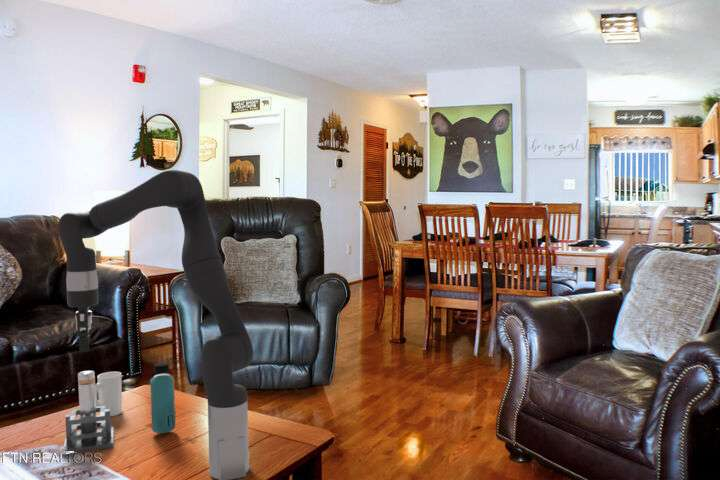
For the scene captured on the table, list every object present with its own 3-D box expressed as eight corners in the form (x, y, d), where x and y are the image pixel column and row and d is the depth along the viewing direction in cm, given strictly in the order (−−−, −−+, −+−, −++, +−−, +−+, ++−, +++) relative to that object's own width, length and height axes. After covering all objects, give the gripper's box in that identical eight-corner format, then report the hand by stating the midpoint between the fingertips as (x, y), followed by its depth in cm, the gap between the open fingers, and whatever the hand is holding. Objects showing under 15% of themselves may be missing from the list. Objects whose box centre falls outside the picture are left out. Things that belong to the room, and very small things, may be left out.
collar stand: (113, 447, 154) (112, 417, 154) (62, 455, 150) (61, 424, 149) (113, 430, 166) (112, 402, 165) (66, 437, 161) (65, 408, 160)
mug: (109, 408, 184) (108, 370, 183) (127, 410, 181) (126, 372, 181) (85, 419, 174) (83, 380, 173) (104, 422, 172) (102, 382, 171)
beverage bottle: (168, 439, 159) (166, 367, 158) (146, 437, 161) (144, 366, 159) (180, 430, 166) (178, 360, 164) (159, 428, 167) (156, 359, 165)
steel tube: (97, 439, 156) (94, 374, 155) (80, 442, 155) (77, 376, 154) (97, 434, 160) (94, 369, 159) (81, 436, 159) (78, 371, 157)
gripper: (97, 290, 150) (99, 352, 151) (98, 283, 163) (101, 340, 164) (64, 292, 147) (67, 355, 148) (68, 284, 160) (71, 343, 161)
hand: (85, 347), depth 156 cm, fingers open, 8 cm apart
